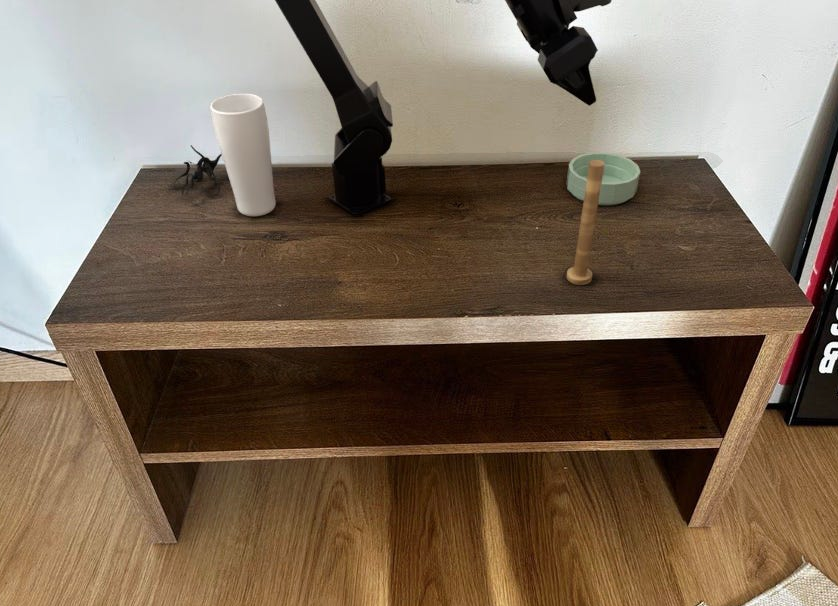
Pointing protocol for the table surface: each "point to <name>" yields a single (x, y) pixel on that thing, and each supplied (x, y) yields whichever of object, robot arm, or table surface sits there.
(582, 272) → the stick
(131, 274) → the table surface
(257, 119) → the drinking glass
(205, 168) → the creature
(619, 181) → the bowl
